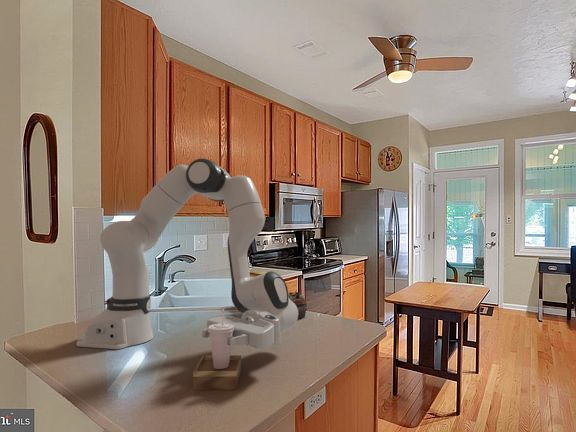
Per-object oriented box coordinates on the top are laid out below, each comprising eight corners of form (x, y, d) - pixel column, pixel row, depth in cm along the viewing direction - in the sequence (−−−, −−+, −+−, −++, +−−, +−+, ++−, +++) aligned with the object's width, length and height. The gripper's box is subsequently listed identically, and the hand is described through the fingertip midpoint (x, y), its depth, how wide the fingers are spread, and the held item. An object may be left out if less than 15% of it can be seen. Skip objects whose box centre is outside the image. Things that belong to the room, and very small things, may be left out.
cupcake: (311, 318, 139) (311, 293, 139) (290, 321, 135) (290, 295, 135) (299, 312, 148) (299, 289, 148) (279, 315, 143) (280, 291, 143)
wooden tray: (192, 389, 78) (193, 372, 78) (202, 371, 88) (202, 355, 88) (236, 389, 79) (236, 371, 79) (241, 370, 89) (241, 355, 89)
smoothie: (224, 372, 80) (223, 312, 81) (202, 368, 83) (202, 310, 84) (239, 363, 86) (239, 307, 87) (218, 360, 88) (218, 305, 89)
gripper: (229, 307, 100) (190, 317, 90) (283, 320, 88) (245, 333, 77) (229, 329, 100) (189, 341, 89) (283, 344, 88) (245, 361, 77)
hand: (216, 338), depth 83 cm, fingers open, 8 cm apart
